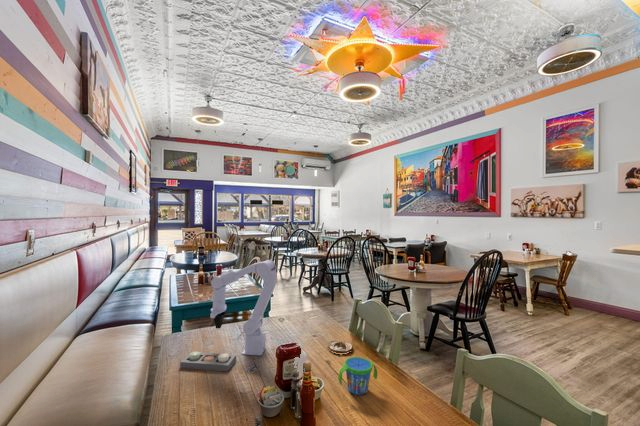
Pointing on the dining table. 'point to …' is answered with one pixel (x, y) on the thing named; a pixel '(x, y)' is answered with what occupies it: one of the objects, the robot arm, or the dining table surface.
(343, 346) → the brown white round dish
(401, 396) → the dining table surface
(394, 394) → the dining table surface
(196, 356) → the sage button
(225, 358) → the cream button
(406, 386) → the dining table surface
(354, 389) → the snack cup
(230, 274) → the robot arm
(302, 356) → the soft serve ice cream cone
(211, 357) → the terracotta button
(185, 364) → the button board
